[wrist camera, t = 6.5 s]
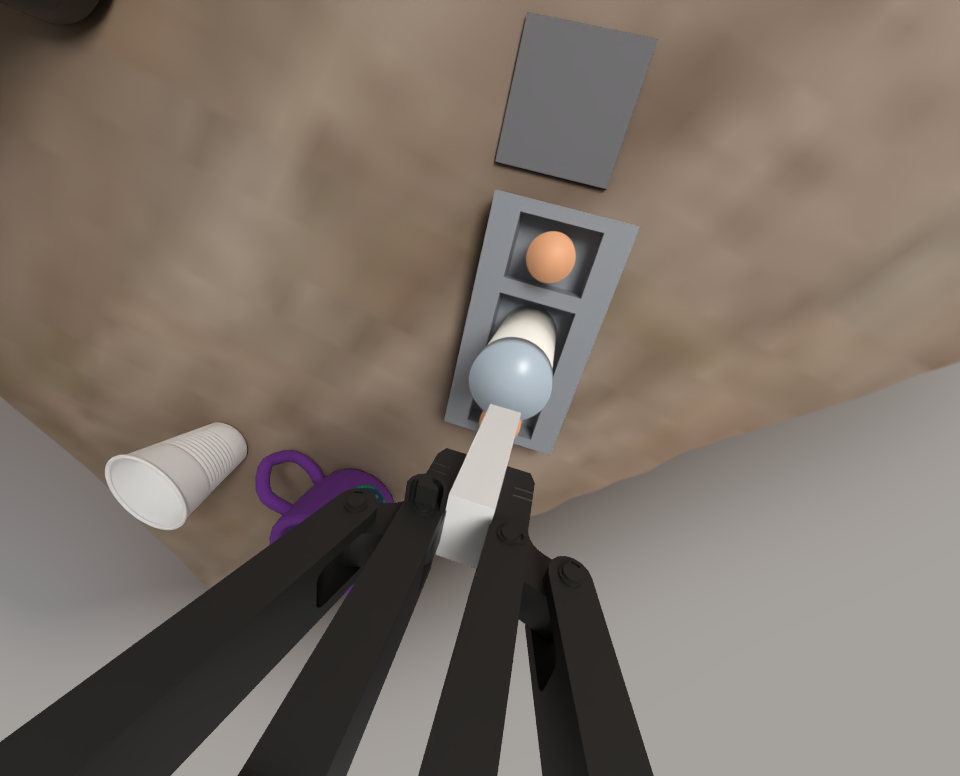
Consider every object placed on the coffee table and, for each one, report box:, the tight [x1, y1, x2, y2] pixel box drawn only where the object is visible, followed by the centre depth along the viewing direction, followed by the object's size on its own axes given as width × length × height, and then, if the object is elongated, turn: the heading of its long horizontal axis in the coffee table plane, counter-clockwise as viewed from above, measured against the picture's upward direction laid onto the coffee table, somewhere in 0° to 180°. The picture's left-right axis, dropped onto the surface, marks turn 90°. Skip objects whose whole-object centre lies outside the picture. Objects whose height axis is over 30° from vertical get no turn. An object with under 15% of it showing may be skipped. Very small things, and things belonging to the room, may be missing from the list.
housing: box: [444, 189, 640, 455], centre depth 33 cm, size 21×11×3 cm, turn 167°
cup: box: [105, 422, 247, 530], centre depth 44 cm, size 10×10×11 cm
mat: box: [495, 12, 658, 189], centre depth 27 cm, size 9×9×1 cm
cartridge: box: [469, 305, 557, 421], centre depth 28 cm, size 5×5×12 cm
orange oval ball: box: [526, 231, 576, 283], centre depth 28 cm, size 4×4×3 cm
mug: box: [256, 450, 394, 595], centre depth 43 cm, size 17×11×10 cm, turn 42°
